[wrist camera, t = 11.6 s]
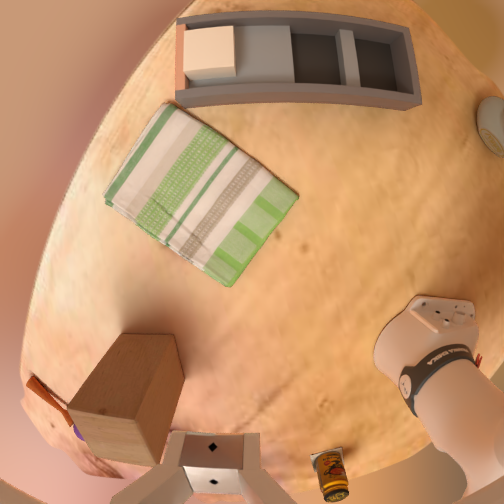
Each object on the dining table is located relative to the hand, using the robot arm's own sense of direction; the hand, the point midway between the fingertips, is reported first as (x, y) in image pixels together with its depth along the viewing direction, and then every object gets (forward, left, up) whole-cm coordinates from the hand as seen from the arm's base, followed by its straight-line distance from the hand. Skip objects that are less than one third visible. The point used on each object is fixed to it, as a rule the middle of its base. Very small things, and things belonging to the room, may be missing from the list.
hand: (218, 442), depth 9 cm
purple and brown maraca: (+44, +36, -35) cm, 66 cm away
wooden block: (+17, +20, -34) cm, 43 cm away
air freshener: (-44, -19, -34) cm, 59 cm away
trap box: (-9, -25, -34) cm, 43 cm away
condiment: (-16, +52, -34) cm, 64 cm away
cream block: (+3, -25, -31) cm, 40 cm away
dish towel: (+6, -6, -35) cm, 36 cm away
